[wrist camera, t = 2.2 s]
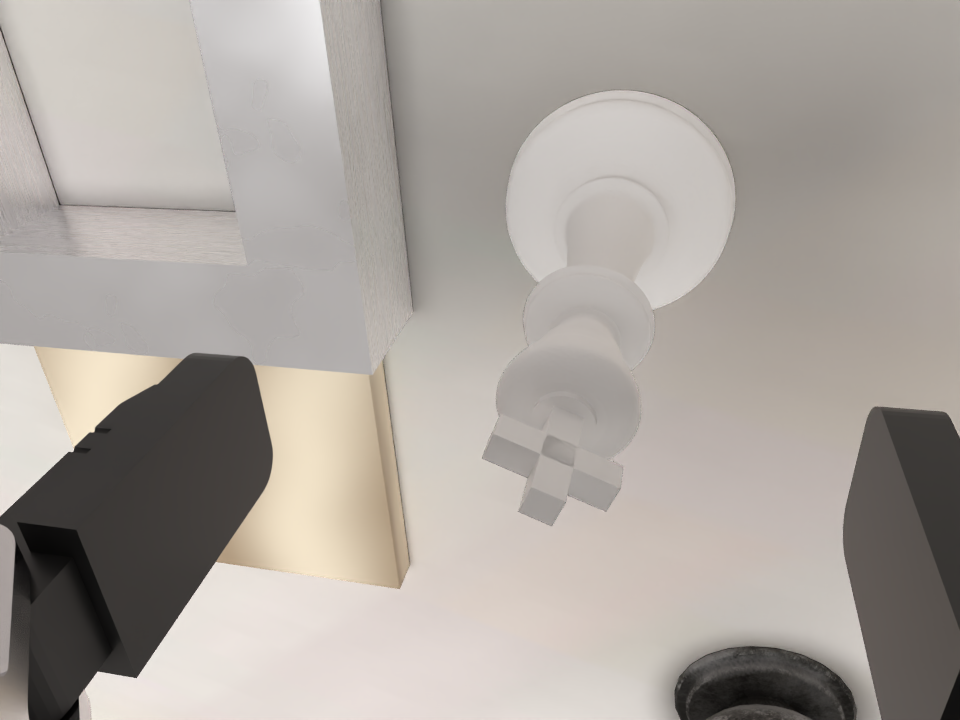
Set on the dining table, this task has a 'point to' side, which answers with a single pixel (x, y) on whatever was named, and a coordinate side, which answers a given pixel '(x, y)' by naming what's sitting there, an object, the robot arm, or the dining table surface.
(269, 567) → the birch pad
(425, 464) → the dining table surface
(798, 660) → the salt shaker
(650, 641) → the dining table surface
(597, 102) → the chess piece
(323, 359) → the socket block
